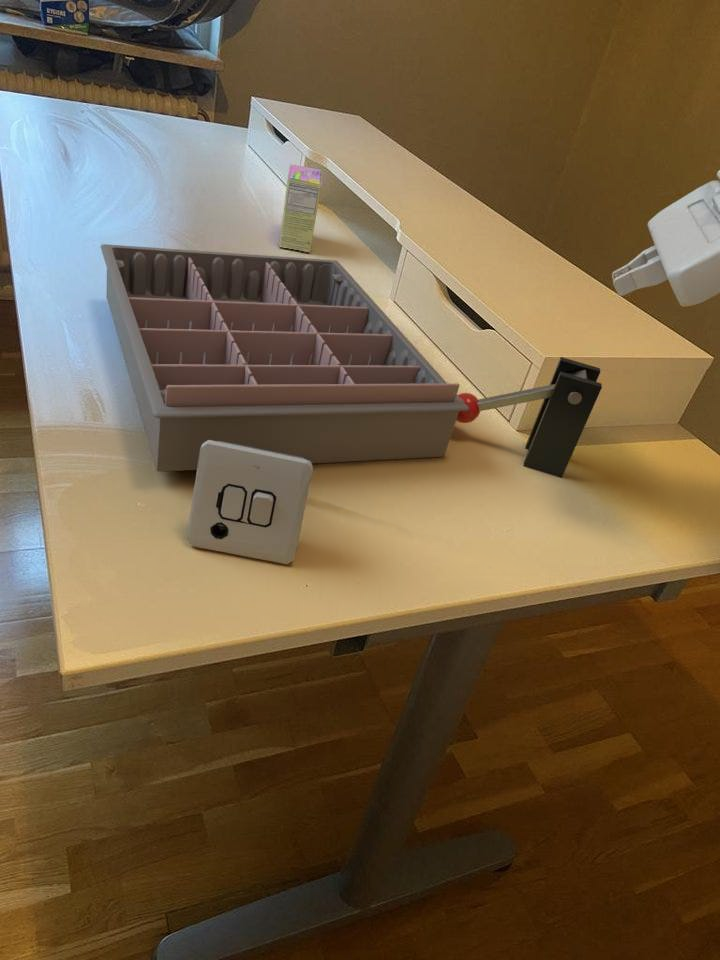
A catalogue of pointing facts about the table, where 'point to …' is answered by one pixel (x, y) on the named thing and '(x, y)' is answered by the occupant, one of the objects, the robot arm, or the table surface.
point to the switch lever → (505, 399)
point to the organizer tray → (270, 359)
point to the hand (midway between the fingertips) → (614, 285)
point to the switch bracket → (562, 418)
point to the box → (300, 208)
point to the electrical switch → (248, 501)
